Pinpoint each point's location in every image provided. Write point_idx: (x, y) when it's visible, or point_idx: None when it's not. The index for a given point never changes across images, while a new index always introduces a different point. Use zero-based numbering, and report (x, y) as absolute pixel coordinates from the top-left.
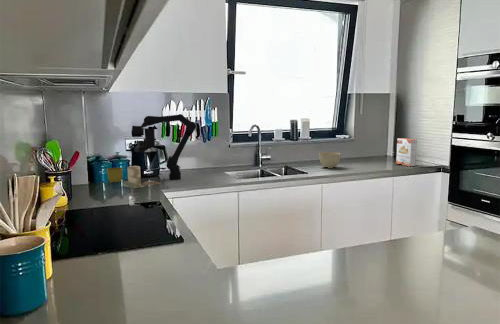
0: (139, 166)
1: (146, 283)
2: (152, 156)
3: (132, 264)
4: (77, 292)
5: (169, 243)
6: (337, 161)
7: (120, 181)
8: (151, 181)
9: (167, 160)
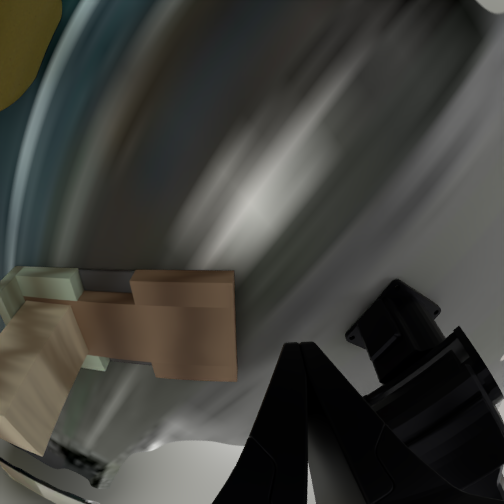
0: (37, 452)
1: (53, 498)
2: (317, 494)
3: (45, 490)
4: (19, 480)
5: (76, 499)
6: None
7: (22, 93)
8: (215, 289)
9: (455, 428)
